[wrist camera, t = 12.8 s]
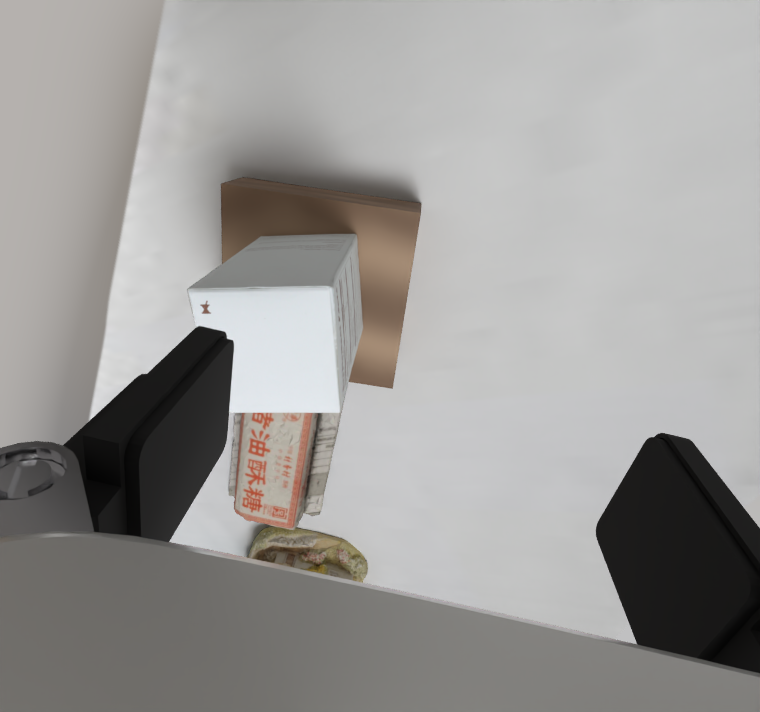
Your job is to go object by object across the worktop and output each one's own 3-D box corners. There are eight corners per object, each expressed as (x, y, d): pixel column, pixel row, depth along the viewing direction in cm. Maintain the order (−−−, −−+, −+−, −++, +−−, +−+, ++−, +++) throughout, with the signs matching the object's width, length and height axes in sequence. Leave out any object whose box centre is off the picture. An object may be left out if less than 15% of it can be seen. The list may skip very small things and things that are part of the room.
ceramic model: (385, 552, 54) (377, 638, 45) (351, 613, 59) (337, 701, 50) (265, 509, 53) (232, 589, 44) (240, 575, 58) (205, 658, 49)
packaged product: (313, 542, 48) (214, 521, 48) (322, 507, 52) (232, 487, 52) (344, 388, 40) (225, 362, 40) (352, 362, 45) (245, 338, 44)
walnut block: (245, 176, 38) (221, 183, 34) (421, 202, 38) (420, 213, 34) (244, 338, 44) (223, 362, 40) (395, 361, 44) (392, 388, 40)
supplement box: (271, 329, 38) (208, 416, 27) (258, 233, 35) (181, 285, 24) (365, 329, 38) (341, 418, 26) (361, 232, 34) (332, 283, 23)
